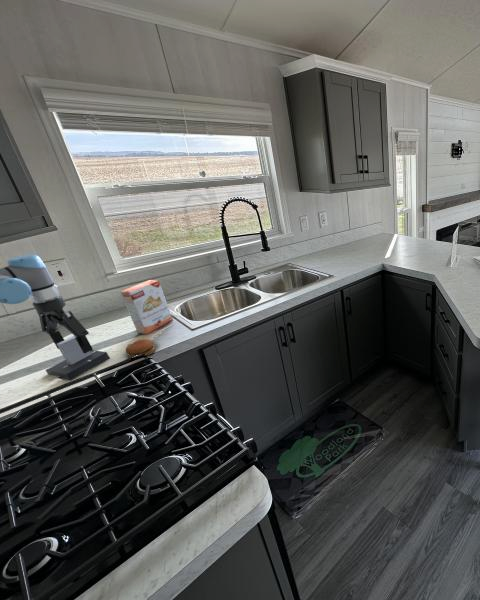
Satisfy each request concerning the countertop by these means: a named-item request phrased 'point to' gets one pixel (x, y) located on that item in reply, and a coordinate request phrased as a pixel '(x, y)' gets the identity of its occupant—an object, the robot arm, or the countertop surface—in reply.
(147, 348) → the burger
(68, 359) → the tap handle
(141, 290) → the cracker box
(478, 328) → the countertop surface
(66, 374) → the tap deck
